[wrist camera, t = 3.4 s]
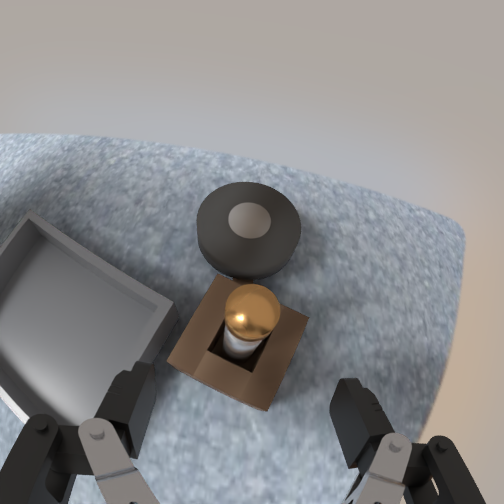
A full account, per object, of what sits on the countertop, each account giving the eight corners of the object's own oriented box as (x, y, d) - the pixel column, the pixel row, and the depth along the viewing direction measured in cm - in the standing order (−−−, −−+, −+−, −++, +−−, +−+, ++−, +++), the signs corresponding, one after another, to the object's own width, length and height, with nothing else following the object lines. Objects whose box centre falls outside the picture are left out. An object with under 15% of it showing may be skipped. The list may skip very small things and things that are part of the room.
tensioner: (133, 342, 21) (114, 327, 17) (225, 201, 28) (228, 167, 24) (258, 409, 19) (269, 411, 15) (327, 249, 27) (346, 220, 23)
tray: (-26, 339, 17) (-47, 328, 14) (44, 229, 24) (29, 208, 21) (96, 463, 15) (77, 471, 12) (179, 317, 22) (173, 301, 19)
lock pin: (215, 356, 21) (215, 320, 12) (229, 329, 22) (240, 275, 13) (244, 370, 20) (266, 345, 12) (257, 343, 22) (288, 298, 13)
